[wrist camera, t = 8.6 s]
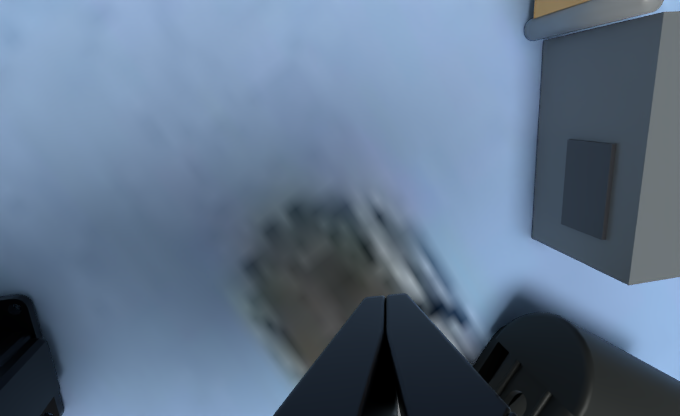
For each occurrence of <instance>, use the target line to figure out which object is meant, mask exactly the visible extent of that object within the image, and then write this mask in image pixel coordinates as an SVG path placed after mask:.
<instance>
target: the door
mask: <svg viewBox="0 0 680 416" xmlns="http://www.w3.org/2000/svg"><path fill="white" fill-rule="evenodd" d="M663 1H664V0H535V4H534V17H533V18H532V19H530V20H529V21H528V22H527V23H526V25H525V28H524V33H525V36H526V38H527V39H528V40H530V41H536V40H540V39H544V38H548V37H552V36H556V35H560V34H564V33H569V32H573V31H577V30H581V29H585V28H589V27H593V26H597V25H601V24H606V23H610V22H614V21H618V20H622V19H626V18H630V17H634V16H638V15H643V14H647V13H651V12H654V11H656V10H657V9H659V7H660V6H661V5H662V3H663Z"/></svg>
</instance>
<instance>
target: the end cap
mask: <svg viewBox="0 0 680 416" xmlns="http://www.w3.org/2000/svg"><path fill="white" fill-rule="evenodd" d="M473 368H474V369H475V370H476V371H477V372H478V373H479V374H480V376H481V377H482V378H483V379H484V380H485V381H486V382H487V383H488V384H489V386H490V387H491V388H492V389H493V390H494V391H495V392H496V393H497V394H498V396H499V397H500V398H501V399H502V400H503V401H504V402H505V403H506V404H507V405H508V407H509V408H510V409H511V412H514V413H516V414H517V416H680V381H678V380H676V379H674V378H673V377H671V376H669V375H667V374H665V373H663V372H662V371H660V370H658V369H656V368H654V367H652V366H651V365H649V364H647V363H645V362H643V361H641V360H640V359H638V358H636V357H634V356H632V355H630V354H629V353H627V352H625V351H623V350H621V349H619V348H617V347H616V346H614V345H612V344H610V343H608V342H606V341H605V340H603V339H601V338H599V337H597V336H595V335H594V334H592V333H590V332H588V331H586V330H584V329H583V328H581V327H579V326H577V325H575V324H573V323H572V322H570V321H568V320H566V319H564V318H562V317H560V316H558V315H554V314H551V313H544V312H536V313H530V314H526V315H523V316H521V317H518V318H516V319H515V320H513V321H512V322H510V323H509V324H508V325H506V326H504V327H502V328H501V329H500V330H499V331H498V332H497V333H496V334H495V335H494V336H493V337H492V339H491V340H490V342H489V343H488V345H487V346H486V348H485V349H484V351H483V352H482V354H481V355H480V357H479V358H478V360H477V361H476V363H475V364H474V366H473Z"/></svg>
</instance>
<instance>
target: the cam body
mask: <svg viewBox="0 0 680 416" xmlns="http://www.w3.org/2000/svg"><path fill="white" fill-rule="evenodd" d="M532 239H534V240H537V241H539V242H541V243H543V244H545V245H547V246H549V247H551V248H553V249H555V250H557V251H559V252H561V253H563V254H565V255H567V256H569V257H572V258H574V259H576V260H578V261H580V262H582V263H584V264H586V265H588V266H590V267H592V268H594V269H596V270H598V271H600V272H602V273H604V274H607V275H609V276H611V277H613V278H615V279H617V280H619V281H621V282H623V283H625V284H627V285H633V284H639V283H645V282H651V281H657V280H663V279H669V278H675V277H680V11H678V12H662V13H658V14H653V15H649V16H645V17H641V18H637V19H632V20H628V21H624V22H620V23H615V24H611V25H607V26H603V27H598V28H594V29H590V30H586V31H582V32H577V33H573V34H569V35H565V36H560V37H556V38H552V39H548V40H544V43H543V59H542V76H541V93H540V110H539V127H538V143H537V160H536V177H535V194H534V211H533V228H532Z"/></svg>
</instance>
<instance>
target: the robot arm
mask: <svg viewBox="0 0 680 416" xmlns="http://www.w3.org/2000/svg"><path fill="white" fill-rule="evenodd" d="M13 304H17V305H19V306H20V307H21V310H17V309H15V308H14V306H13ZM59 388H60V385H59V381H58V378H57V374H56V371H55V367H54V364H53V360H52V357H51V354H50V350H49V347H48V343H47V341H46V340H45V339H44V338H43V337H42V333H41V330H40V326H39V323H38V319H37V316H36V313H35V309H34V306H33V303H32V301H31V299H29V298H28V297H27V296H24V295H10V296H2V297H0V416H62V414H63V413H64V408H63V405H62V402H61V398H60V395H59V391H58V390H59ZM397 397H398V401H397ZM398 403H399V408H400V413H401V416H517V414H516V413H514V412H511V409H510V408H509V407H508V405H507V404H506V403H505V402H504V401H503V400H502V399H501V398H500V397H499V396H498V394H497V393H496V392H495V391H494V390H493V389H492V388H491V387H490V386H489V384H488V383H487V382H486V381H485V380H484V379H483V378H482V377H481V376H480V374H479V373H478V372H477V371H476V370H475V369H474V368H473V367H472V366H471V364H470V363H469V362H468V361H467V360H466V359H465V358H464V357H463V356H462V354H461V353H460V352H459V351H458V350H457V349H456V348H455V347H454V346H453V344H452V343H451V342H450V341H449V340H448V339H447V338H446V337H445V336H444V334H443V333H442V332H441V331H440V330H439V329H438V328H437V327H436V326H435V324H434V323H433V322H432V321H431V320H430V319H429V318H428V317H427V316H426V314H425V313H424V312H423V311H422V310H421V309H420V308H419V307H418V306H417V305H416V303H415V302H414V301H413V300H412V299H411V298H410V297H409V296H408V295H407V294H405V293H402V294H392V295H388V296H387V297H386V298H385V297H384V296H373V297H366V298H365V299H363V301H362V302H361V303H360V305H359V306H358V307H357V308H356V310H355V311H354V312H353V314H352V315H351V316H350V317H349V319H348V320H347V321H346V323H345V324H344V325H343V326H342V328H341V329H340V330H339V332H338V333H337V334H336V335H335V337H334V338H333V339H332V341H331V342H330V343H329V344H328V346H327V347H326V348H325V350H324V351H323V352H322V353H321V355H320V356H319V357H318V359H317V360H316V361H315V362H314V364H313V365H312V366H311V367H310V369H309V370H308V371H307V373H306V374H305V375H304V376H303V378H302V379H301V380H300V382H299V383H298V384H297V385H296V387H295V388H294V389H293V391H292V392H291V393H290V394H289V396H288V397H287V398H286V400H285V401H284V402H283V403H282V405H281V406H280V407H279V409H278V410H277V411H276V412H275V414H274V415H273V416H398ZM46 412H50V413H52V414H53V415H49V414H47V413H46Z"/></svg>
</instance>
